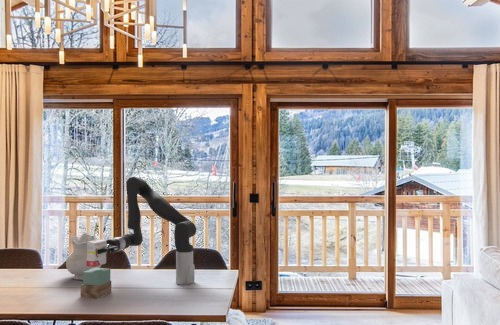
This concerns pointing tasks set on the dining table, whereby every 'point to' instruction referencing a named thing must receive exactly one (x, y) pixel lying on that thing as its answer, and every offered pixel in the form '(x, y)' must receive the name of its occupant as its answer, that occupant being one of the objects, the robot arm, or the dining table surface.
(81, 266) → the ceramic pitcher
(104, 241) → the ink box
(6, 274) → the dining table surface
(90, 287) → the walnut block
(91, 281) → the green block
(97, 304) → the dining table surface
